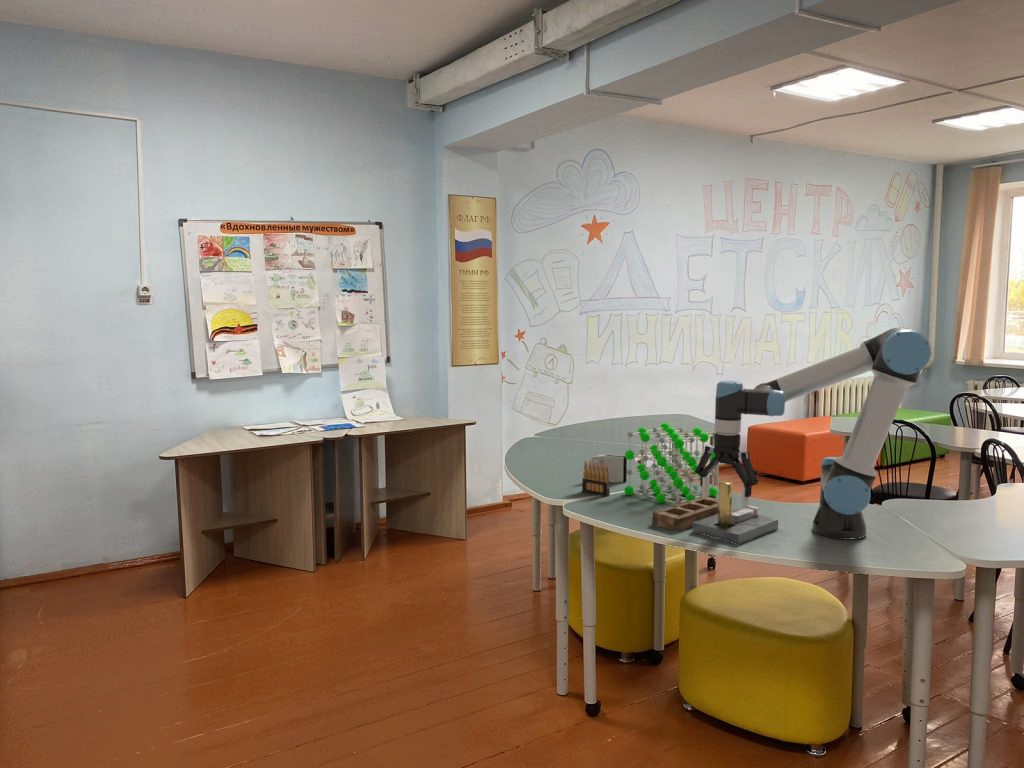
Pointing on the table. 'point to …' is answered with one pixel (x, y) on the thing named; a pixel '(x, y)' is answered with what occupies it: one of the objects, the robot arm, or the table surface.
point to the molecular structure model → (669, 463)
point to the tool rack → (685, 513)
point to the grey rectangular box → (613, 466)
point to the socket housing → (736, 528)
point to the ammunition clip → (595, 479)
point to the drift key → (745, 514)
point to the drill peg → (725, 504)
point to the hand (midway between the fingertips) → (724, 502)
